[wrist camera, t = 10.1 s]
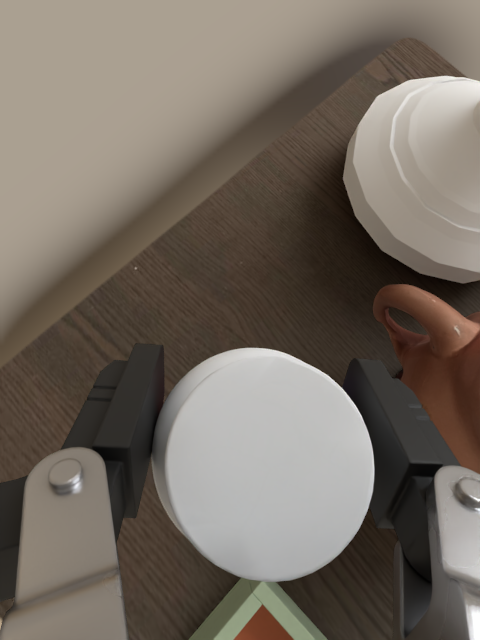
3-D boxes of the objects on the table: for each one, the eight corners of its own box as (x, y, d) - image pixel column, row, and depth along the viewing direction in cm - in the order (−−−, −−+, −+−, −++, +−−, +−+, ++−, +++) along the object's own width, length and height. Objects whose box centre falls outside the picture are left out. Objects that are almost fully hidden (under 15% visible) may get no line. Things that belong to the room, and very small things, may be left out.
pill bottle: (192, 362, 17) (167, 293, 7) (304, 386, 17) (423, 350, 7) (162, 486, 15) (82, 599, 6) (285, 512, 15) (402, 665, 6)
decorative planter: (287, 381, 31) (346, 358, 17) (366, 282, 34) (470, 196, 20) (479, 546, 29) (717, 665, 15) (546, 425, 32) (795, 435, 18)
